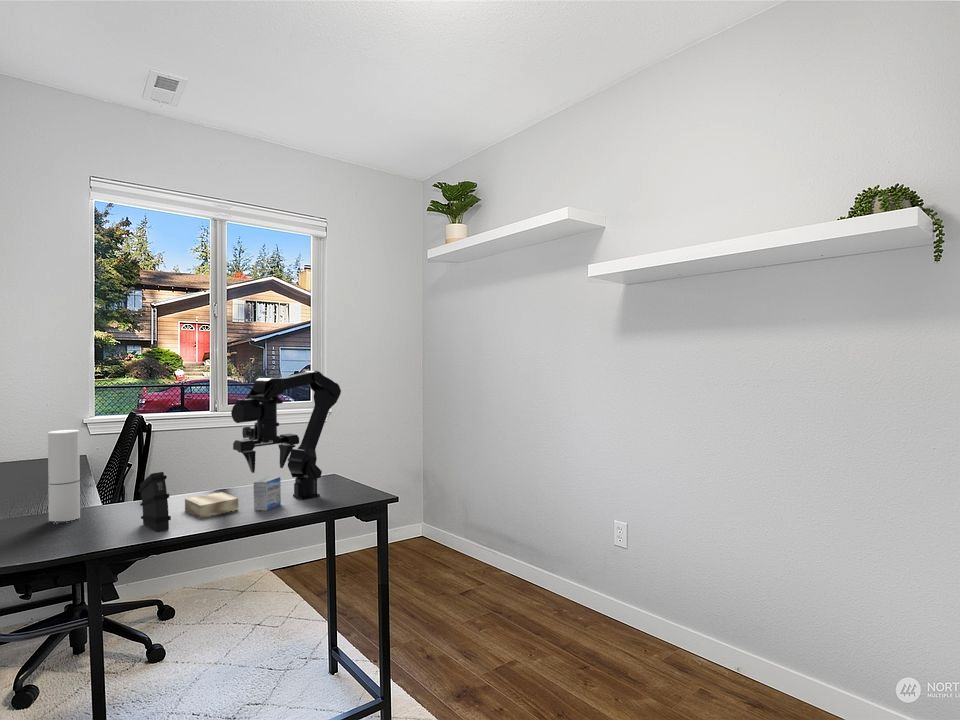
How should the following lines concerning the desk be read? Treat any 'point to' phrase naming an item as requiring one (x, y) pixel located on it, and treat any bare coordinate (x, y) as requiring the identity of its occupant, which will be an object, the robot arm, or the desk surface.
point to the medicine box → (267, 493)
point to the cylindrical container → (63, 475)
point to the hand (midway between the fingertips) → (267, 470)
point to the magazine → (155, 502)
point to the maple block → (211, 504)
